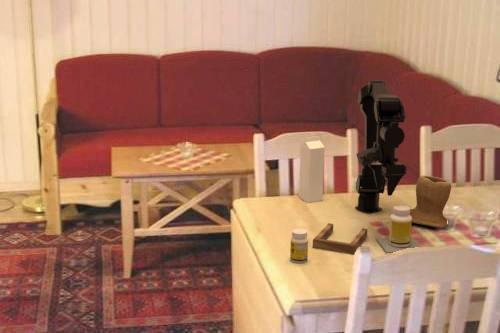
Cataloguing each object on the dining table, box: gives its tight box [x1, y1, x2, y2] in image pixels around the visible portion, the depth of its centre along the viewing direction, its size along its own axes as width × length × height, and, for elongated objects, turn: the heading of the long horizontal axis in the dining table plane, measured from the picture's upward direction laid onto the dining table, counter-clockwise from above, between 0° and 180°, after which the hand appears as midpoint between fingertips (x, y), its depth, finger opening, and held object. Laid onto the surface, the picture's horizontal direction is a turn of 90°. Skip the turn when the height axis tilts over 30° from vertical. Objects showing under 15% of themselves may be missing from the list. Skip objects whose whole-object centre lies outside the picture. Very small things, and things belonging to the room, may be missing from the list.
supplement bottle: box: [289, 228, 309, 264], centre depth 202 cm, size 5×5×8 cm
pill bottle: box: [388, 204, 413, 247], centre depth 213 cm, size 6×6×11 cm
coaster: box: [375, 236, 422, 255], centre depth 214 cm, size 11×11×1 cm
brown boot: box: [409, 175, 452, 228], centre depth 232 cm, size 15×12×15 cm
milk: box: [298, 135, 326, 204], centre depth 253 cm, size 6×6×22 cm
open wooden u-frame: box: [312, 222, 368, 255], centre depth 216 cm, size 15×12×2 cm
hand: (384, 191), depth 221 cm, fingers open, 9 cm apart
